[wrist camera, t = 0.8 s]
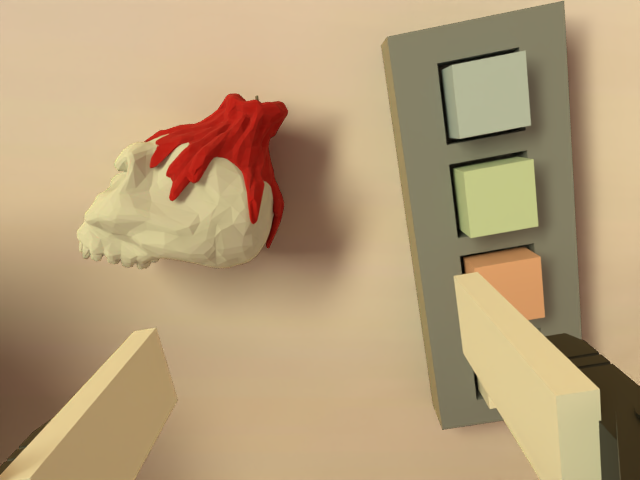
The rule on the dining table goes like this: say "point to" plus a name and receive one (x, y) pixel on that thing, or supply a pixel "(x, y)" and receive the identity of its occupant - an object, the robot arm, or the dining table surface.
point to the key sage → (496, 196)
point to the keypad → (447, 153)
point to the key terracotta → (513, 277)
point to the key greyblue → (486, 95)
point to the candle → (192, 192)
